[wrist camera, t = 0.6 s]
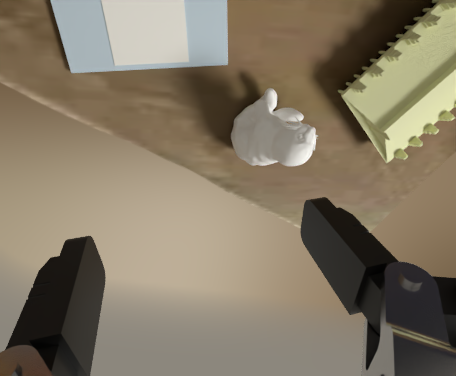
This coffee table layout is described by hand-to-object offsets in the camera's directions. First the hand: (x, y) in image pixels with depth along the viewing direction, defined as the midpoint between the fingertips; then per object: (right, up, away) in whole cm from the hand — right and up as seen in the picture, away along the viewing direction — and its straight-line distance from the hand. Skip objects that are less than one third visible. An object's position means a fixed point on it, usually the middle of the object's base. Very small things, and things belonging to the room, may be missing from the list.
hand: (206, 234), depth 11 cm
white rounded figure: (+4, +10, +26) cm, 28 cm away
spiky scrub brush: (+26, +19, +27) cm, 42 cm away
